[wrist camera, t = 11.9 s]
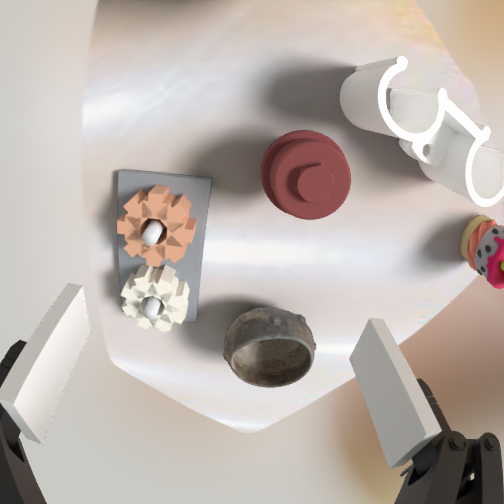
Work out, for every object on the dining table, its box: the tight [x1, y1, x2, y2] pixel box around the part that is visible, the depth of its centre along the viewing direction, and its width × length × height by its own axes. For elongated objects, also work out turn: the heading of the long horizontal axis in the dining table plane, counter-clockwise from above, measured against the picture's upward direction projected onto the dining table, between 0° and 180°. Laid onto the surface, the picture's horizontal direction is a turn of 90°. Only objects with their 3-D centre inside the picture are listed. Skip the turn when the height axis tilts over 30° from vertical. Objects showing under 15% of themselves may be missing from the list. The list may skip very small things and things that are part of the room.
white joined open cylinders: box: [340, 56, 504, 207], centre depth 33 cm, size 25×10×12 cm, turn 67°
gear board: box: [118, 169, 212, 323], centre depth 41 cm, size 24×13×8 cm, turn 170°
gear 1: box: [117, 185, 196, 267], centre depth 39 cm, size 10×10×4 cm
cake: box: [460, 215, 504, 289], centre depth 40 cm, size 10×11×15 cm
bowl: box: [223, 307, 316, 388], centre depth 48 cm, size 14×15×10 cm
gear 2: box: [121, 264, 190, 332], centre depth 45 cm, size 10×10×4 cm
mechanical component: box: [261, 130, 351, 220], centre depth 34 cm, size 12×10×10 cm
